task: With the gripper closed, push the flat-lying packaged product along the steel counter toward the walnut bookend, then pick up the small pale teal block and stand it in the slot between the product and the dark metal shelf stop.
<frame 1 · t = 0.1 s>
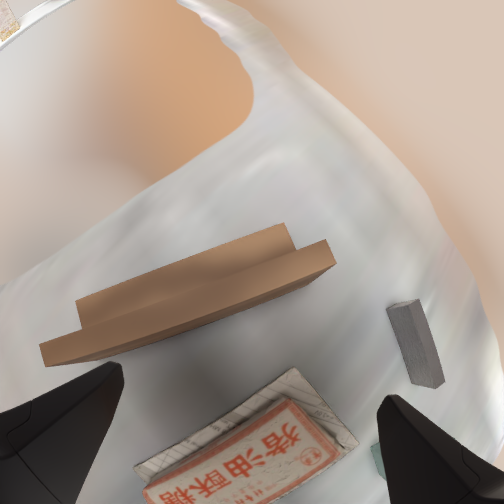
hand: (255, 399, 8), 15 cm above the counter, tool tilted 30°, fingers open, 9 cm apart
walnut bookend: (193, 318, 23), on the counter
metal shelf stop: (405, 344, 23), on the counter
packaged product: (243, 460, 21), on the counter
coffeecake box: (9, 32, 42), on the counter
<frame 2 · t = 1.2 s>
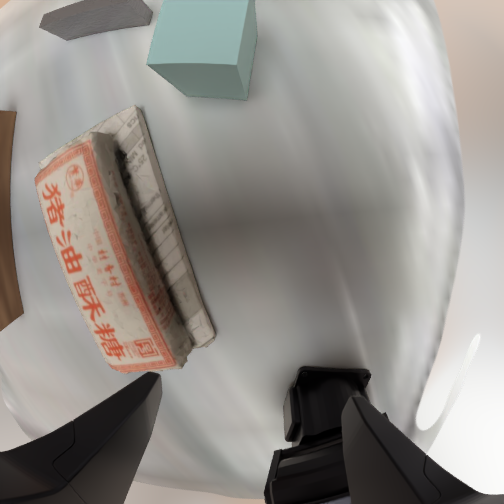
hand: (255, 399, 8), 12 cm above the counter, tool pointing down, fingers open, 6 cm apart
walnut bookend: (6, 218, 19), on the counter
metal shelf stop: (105, 25, 15), on the counter
packaged product: (124, 244, 20), on the counter
pale teal block: (221, 64, 16), on the counter
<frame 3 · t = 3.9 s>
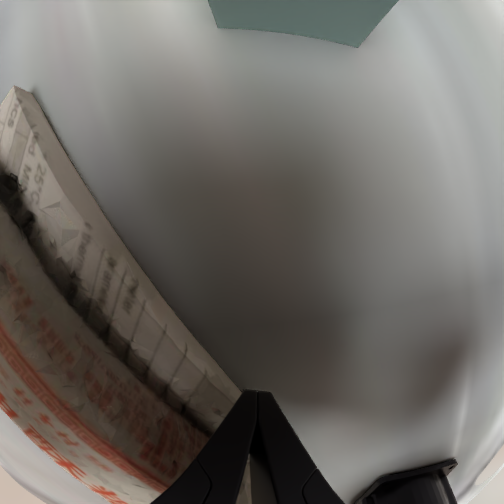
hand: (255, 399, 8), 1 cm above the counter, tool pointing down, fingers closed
packaged product: (85, 338, 10), on the counter, touching gripper
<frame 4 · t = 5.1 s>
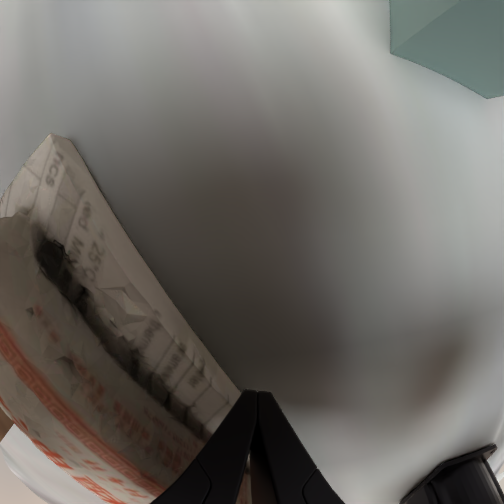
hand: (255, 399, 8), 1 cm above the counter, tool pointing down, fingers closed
packaged product: (127, 386, 11), on the counter
pale teal block: (440, 18, 5), on the counter
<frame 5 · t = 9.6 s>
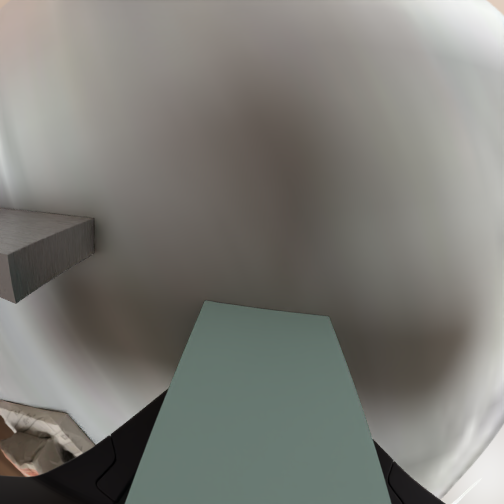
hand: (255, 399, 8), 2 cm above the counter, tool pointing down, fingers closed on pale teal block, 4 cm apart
metal shelf stop: (19, 224, 9), on the counter
packaged product: (97, 475, 15), on the counter
pale teal block: (256, 369, 10), on the counter, touching gripper
when the fingers open (3 cm above the counter, at t = 13.4 s): pale teal block drops 1 cm, on the counter.
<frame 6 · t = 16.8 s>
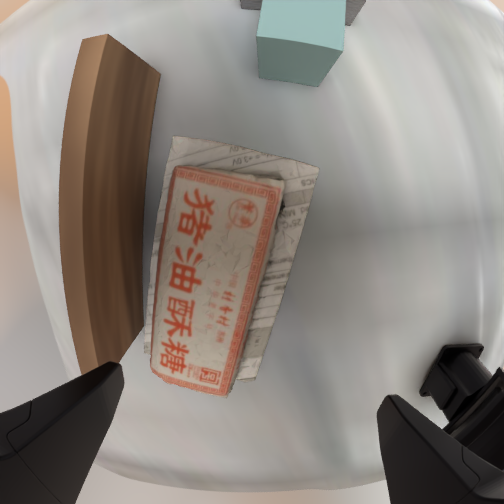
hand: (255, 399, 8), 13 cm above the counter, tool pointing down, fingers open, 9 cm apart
walnut bookend: (134, 206, 20), on the counter
metal shelf stop: (297, 8, 15), on the counter
packaged product: (219, 268, 22), on the counter
pale teal block: (292, 51, 16), on the counter
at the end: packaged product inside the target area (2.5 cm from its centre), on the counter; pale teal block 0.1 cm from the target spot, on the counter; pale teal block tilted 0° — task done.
